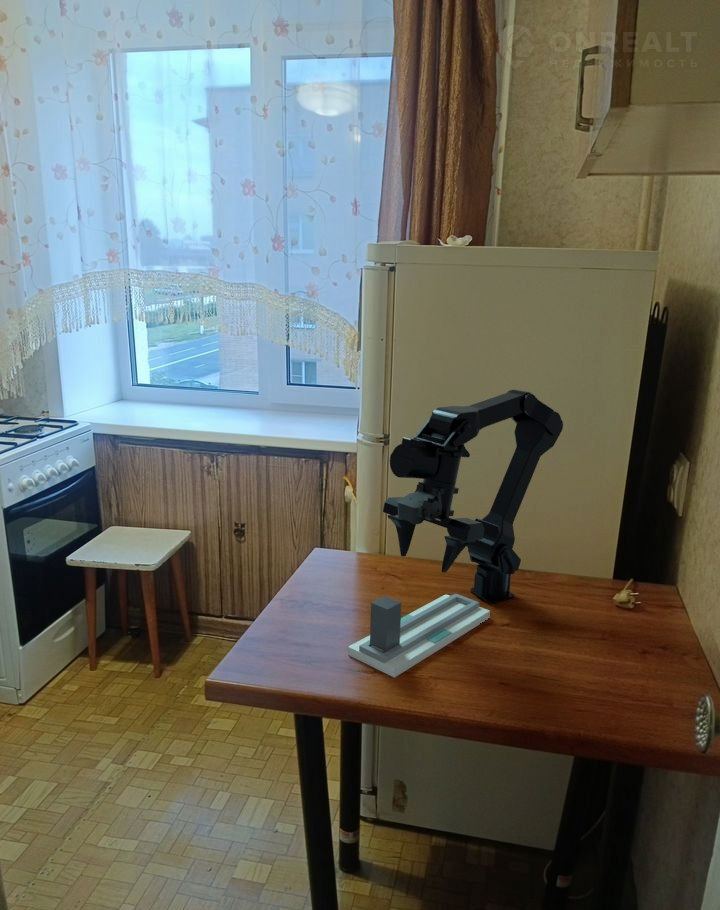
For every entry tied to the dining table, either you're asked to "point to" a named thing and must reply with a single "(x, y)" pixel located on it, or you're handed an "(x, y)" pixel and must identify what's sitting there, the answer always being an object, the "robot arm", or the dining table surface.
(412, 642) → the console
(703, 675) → the dining table surface
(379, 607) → the fader
